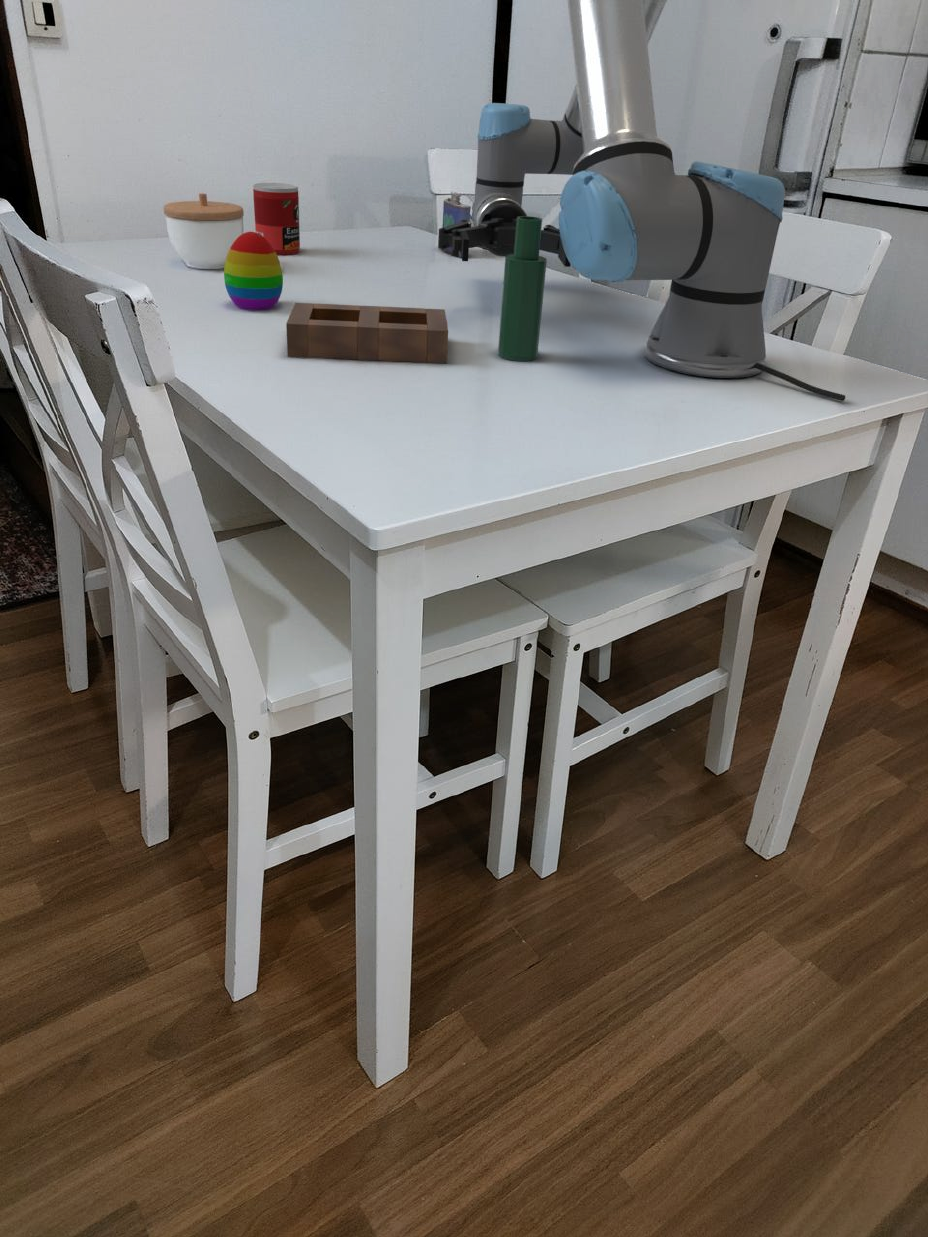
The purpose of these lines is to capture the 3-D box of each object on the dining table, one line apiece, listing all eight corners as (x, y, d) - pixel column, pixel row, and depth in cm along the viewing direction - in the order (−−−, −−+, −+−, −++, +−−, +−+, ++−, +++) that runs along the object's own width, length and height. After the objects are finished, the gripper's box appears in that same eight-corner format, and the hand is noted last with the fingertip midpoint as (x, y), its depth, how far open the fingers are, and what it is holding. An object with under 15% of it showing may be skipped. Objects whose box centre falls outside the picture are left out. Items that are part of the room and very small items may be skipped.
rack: (443, 339, 125) (444, 309, 123) (446, 363, 115) (448, 330, 113) (296, 333, 123) (295, 302, 121) (287, 356, 114) (286, 323, 112)
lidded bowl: (230, 275, 151) (225, 201, 145) (156, 268, 152) (148, 195, 146) (257, 261, 161) (253, 192, 156) (187, 255, 163) (181, 186, 157)
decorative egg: (225, 312, 131) (220, 236, 125) (226, 298, 137) (221, 225, 132) (285, 312, 132) (281, 237, 127) (283, 299, 139) (280, 227, 134)
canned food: (291, 256, 167) (289, 189, 161) (249, 252, 168) (245, 185, 162) (306, 249, 173) (304, 185, 168) (265, 245, 175) (262, 181, 169)
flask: (470, 257, 176) (473, 195, 171) (456, 257, 175) (459, 195, 170) (450, 248, 183) (452, 188, 178) (436, 248, 182) (438, 188, 177)
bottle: (544, 356, 120) (558, 219, 112) (520, 363, 117) (533, 222, 109) (514, 348, 123) (526, 213, 115) (490, 354, 120) (500, 216, 111)
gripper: (581, 256, 143) (607, 287, 125) (418, 248, 141) (421, 278, 123) (587, 203, 139) (615, 227, 121) (420, 194, 137) (423, 216, 119)
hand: (517, 253), depth 122 cm, fingers open, 13 cm apart
